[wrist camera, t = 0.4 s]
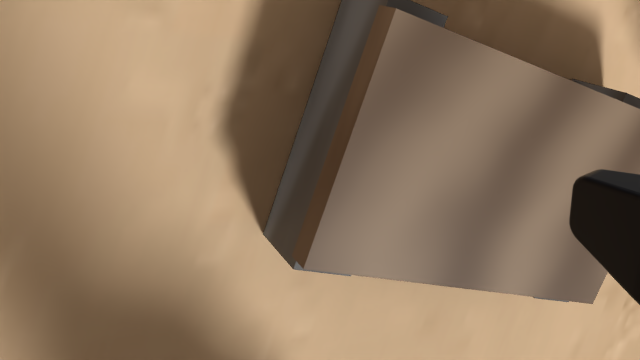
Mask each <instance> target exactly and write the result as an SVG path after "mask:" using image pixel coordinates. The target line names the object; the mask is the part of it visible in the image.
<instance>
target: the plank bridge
mask: <svg viewBox="0 0 640 360" xmlns="http://www.w3.org/2000/svg"><path fill="white" fill-rule="evenodd" d="M447 18H448V16H445V15H443V14H441V13H438V12H436V11H434V10H431V9H429V8H427V7H424V6H422V5H420V4H417V3H415V2H413V1H410V0H342V1H341V4H340V7H339V10H338V13H337V16H336V19H335V22H334V25H333V28H332V31H331V34H330V37H329V40H328V43H327V46H326V49H325V52H324V55H323V58H322V61H321V64H320V67H319V70H318V72H317V75H316V78H315V81H314V84H313V87H312V90H311V93H310V96H309V99H308V102H307V105H306V108H305V111H304V114H303V117H302V120H301V123H300V126H299V129H298V132H297V135H296V138H295V141H294V144H293V147H292V150H291V153H290V156H289V159H288V162H287V165H286V168H285V171H284V174H283V177H282V180H281V183H280V186H279V189H278V192H277V195H276V197H275V200H274V203H273V206H272V209H271V212H270V215H269V218H268V221H267V224H266V227H265V230H264V233H263V235H264V236H265V237H266V238H267V239H268V241H269V242H270V243H271V244H272V245H273V246H274V247H275V249H276V250H277V251H278V252H279V253H280V254H281V256H282V257H283V258H284V259H285V260H286V261H287V263H288V264H289V265H290V266H291V267H292V268H293V269H295V270H303V271H311V272H320V273H328V274H337V275H345V276H351V275H356V276H365V277H373V278H381V279H390V280H398V281H406V282H415V283H423V284H431V285H439V286H448V287H456V288H464V289H473V290H481V291H489V292H498V293H506V294H514V295H522V296H531V297H534V298H538V299H547V300H555V301H563V302H569V301H572V302H581V303H589V304H593V302H594V300H595V298H596V296H597V294H598V291H599V289H600V287H601V285H602V283H603V281H604V279H605V277H606V275H607V272H608V271H607V270H606V269H605V268H604V267H603V266H602V265H601V264H600V263H599V262H598V261H597V260H596V259H595V258H594V257H593V256H592V255H591V254H590V253H589V252H588V250H587V249H586V248H585V247H584V246H583V245H582V244H581V243H580V242H579V241H578V240H577V239H576V238H575V236H574V235H573V233H572V231H571V229H570V225H569V217H570V207H571V198H572V188H573V184H574V182H575V181H576V179H578V178H579V177H581V176H583V175H585V174H588V173H590V172H592V171H594V170H598V169H605V170H612V171H619V172H626V173H634V174H640V99H639V98H637V97H635V96H632V95H630V94H628V93H624V92H620V91H617V90H613V89H609V88H605V87H602V86H598V85H594V84H590V83H586V82H583V81H579V80H575V79H572V81H571V80H568V79H566V78H564V77H561V76H559V75H556V74H554V73H551V72H549V71H547V70H544V69H542V68H539V67H537V66H535V65H532V64H530V63H527V62H525V61H522V60H520V59H518V58H515V57H513V56H510V55H508V54H505V53H503V52H501V51H498V50H496V49H493V48H491V47H489V46H486V45H484V44H481V43H479V42H476V41H474V40H472V39H469V38H467V37H464V36H462V35H459V34H457V33H455V32H452V31H450V30H447V29H445V28H444V26H445V23H446V20H447Z"/></svg>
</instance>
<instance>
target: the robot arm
mask: <svg viewBox="0 0 640 360" xmlns="http://www.w3.org/2000/svg"><path fill="white" fill-rule="evenodd" d="M569 225H570V229H571V231H572V233H573V235H574V236H575V238H576V239H577V240H578V241H579V242H580V243H581V244H582V245H583V246H584V247H585V248H586V249H587V250H588V252H589V253H590V254H591V255H592V256H593V257H594V258H595V259H596V260H597V261H598V262H599V263H600V264H601V265H602V266H603V267H604V268H605V269H606V270H607V271H608V273H609V274H610V275H611V276H612V277H613V278H614V279H615V280H616V281H617V282H618V283H619V284H620V285H621V286H622V287H623V288H624V289H625V290H626V291H627V292H628V294H629V295H630V296H631V297H632V298H633V299H634V300H635V301H636V302H637V303H638V304H639V305H640V174H634V173H626V172H619V171H612V170H605V169H598V170H594V171H592V172H590V173H588V174H585V175H583V176H581V177H579V178H578V179H576V181H575V182H574V184H573V188H572V198H571V207H570V217H569Z"/></svg>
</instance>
